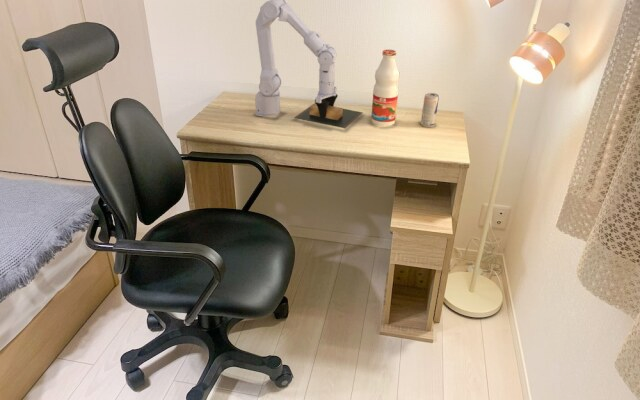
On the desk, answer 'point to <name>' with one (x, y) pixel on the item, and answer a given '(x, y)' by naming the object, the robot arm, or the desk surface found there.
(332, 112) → the eraser
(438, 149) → the desk surface
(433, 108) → the energy drink
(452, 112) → the desk surface
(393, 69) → the strawberry milk bottle
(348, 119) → the slate board
